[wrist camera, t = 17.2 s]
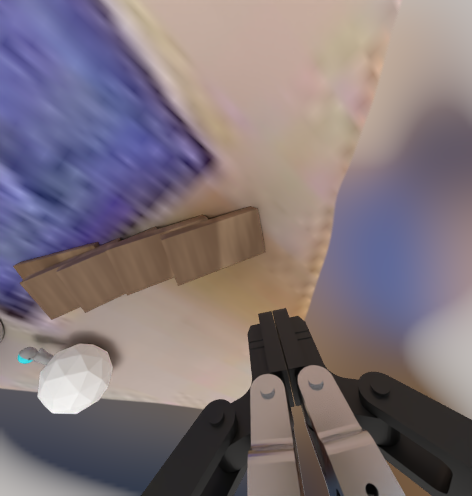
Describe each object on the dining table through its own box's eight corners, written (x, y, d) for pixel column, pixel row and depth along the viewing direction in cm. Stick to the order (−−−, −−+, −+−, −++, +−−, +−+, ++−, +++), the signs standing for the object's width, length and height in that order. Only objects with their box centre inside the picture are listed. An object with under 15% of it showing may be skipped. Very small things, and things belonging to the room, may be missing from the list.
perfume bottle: (106, 407, 33) (24, 379, 33) (131, 348, 35) (54, 321, 35) (75, 439, 26) (-32, 403, 25) (110, 362, 28) (11, 327, 27)
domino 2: (141, 273, 29) (58, 310, 27) (119, 237, 26) (28, 275, 25) (140, 279, 27) (51, 319, 25) (117, 242, 25) (19, 283, 23)
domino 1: (120, 274, 29) (49, 292, 30) (101, 239, 28) (25, 259, 28) (113, 282, 28) (38, 300, 29) (93, 245, 26) (13, 266, 27)
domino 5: (258, 247, 27) (175, 278, 25) (250, 206, 26) (159, 235, 23) (265, 252, 26) (178, 285, 23) (257, 208, 24) (161, 240, 21)
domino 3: (174, 263, 28) (88, 304, 25) (156, 226, 26) (60, 265, 23) (176, 269, 26) (85, 312, 24) (157, 229, 24) (55, 272, 22)
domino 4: (213, 254, 28) (127, 287, 25) (202, 214, 26) (107, 245, 23) (218, 259, 26) (127, 295, 23) (207, 217, 24) (105, 250, 21)
